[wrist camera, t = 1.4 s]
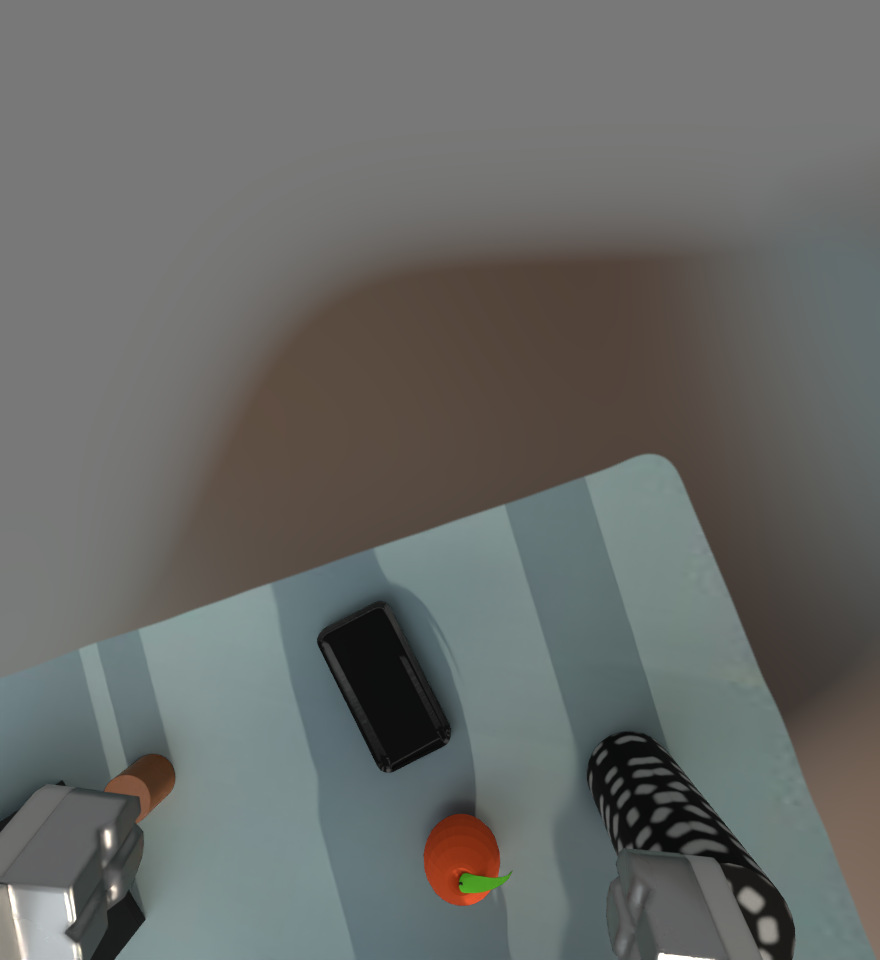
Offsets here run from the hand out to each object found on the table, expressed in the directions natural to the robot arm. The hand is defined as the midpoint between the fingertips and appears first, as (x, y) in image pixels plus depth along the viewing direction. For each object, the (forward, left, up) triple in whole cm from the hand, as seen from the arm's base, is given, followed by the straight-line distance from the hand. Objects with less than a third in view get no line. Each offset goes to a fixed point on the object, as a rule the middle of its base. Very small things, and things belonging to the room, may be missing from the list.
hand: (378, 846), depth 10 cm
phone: (-11, +8, -46) cm, 48 cm away
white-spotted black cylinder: (-21, -15, -47) cm, 54 cm away
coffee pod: (-19, +32, -46) cm, 59 cm away
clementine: (-26, +1, -47) cm, 54 cm away
